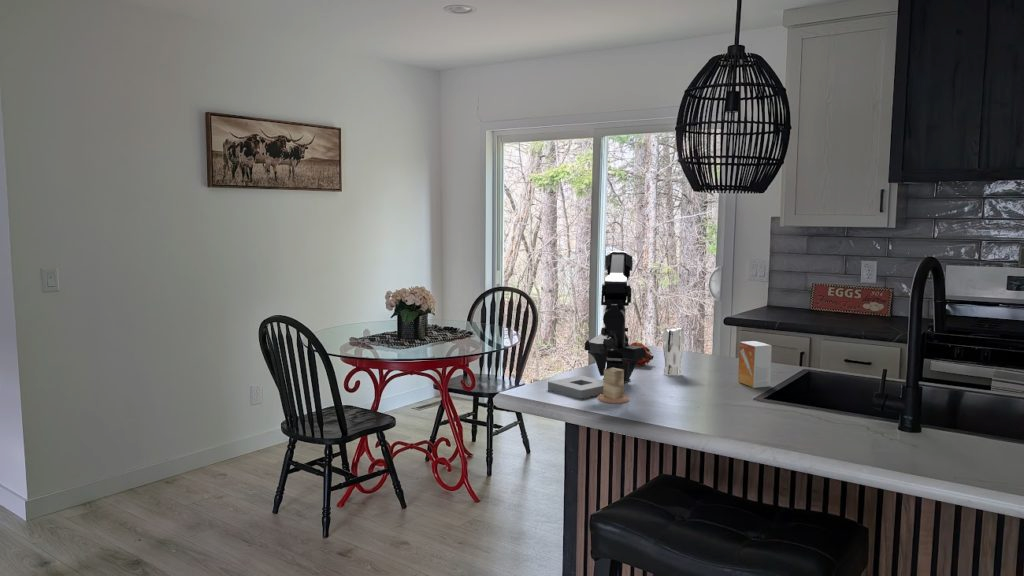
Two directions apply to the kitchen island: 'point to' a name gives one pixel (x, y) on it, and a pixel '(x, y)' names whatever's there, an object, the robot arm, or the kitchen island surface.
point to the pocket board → (577, 386)
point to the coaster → (620, 400)
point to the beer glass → (673, 350)
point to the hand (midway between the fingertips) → (613, 378)
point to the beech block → (613, 383)
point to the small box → (754, 364)
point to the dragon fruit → (648, 356)
